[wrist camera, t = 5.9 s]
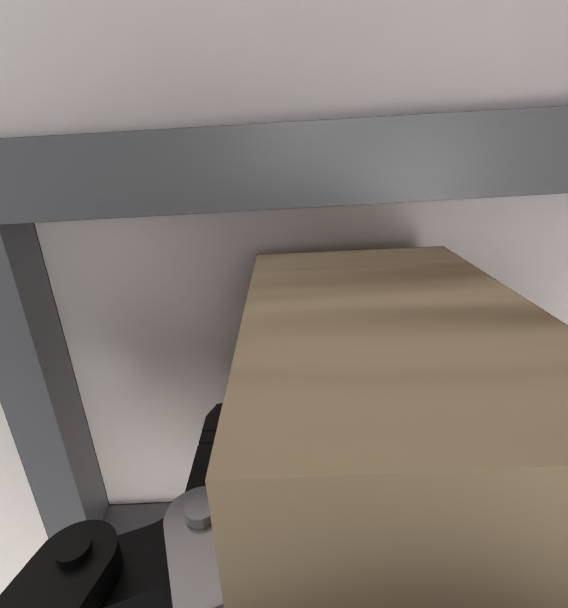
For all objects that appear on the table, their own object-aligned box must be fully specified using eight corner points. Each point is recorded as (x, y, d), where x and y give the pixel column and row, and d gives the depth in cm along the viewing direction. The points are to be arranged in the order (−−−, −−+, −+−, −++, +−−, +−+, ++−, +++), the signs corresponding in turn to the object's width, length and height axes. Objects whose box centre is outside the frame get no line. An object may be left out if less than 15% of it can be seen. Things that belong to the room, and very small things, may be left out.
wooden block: (256, 254, 11) (205, 480, 4) (443, 246, 11) (775, 457, 4) (273, 484, 14) (263, 873, 7) (420, 478, 14) (581, 863, 6)
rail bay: (-44, 144, 11) (-90, 143, 10) (990, 84, 11) (1095, 75, 9) (82, 545, 17) (63, 582, 15) (777, 513, 16) (824, 547, 15)
